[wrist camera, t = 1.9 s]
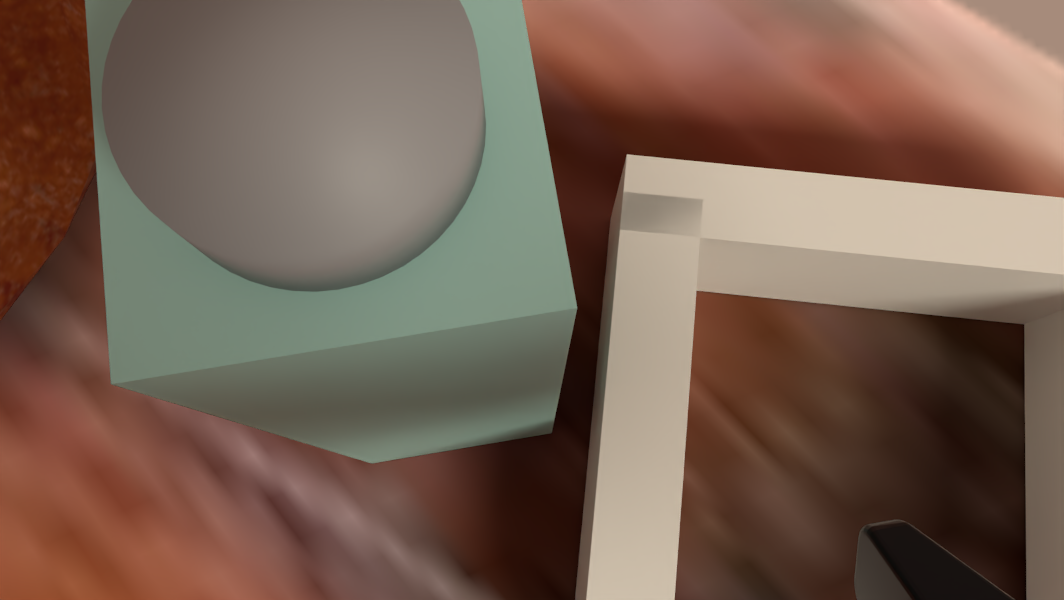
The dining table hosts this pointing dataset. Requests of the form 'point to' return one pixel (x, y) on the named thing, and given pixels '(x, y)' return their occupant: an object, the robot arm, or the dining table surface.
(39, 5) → the bread
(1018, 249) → the cradle
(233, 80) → the post
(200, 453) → the dining table surface
